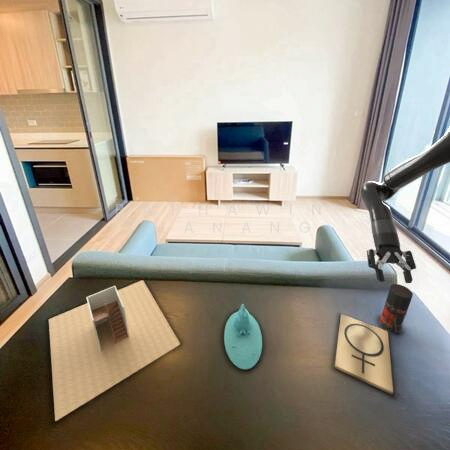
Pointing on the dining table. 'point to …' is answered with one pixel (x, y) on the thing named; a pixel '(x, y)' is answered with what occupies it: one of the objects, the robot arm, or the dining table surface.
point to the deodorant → (395, 308)
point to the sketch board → (364, 353)
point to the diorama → (243, 339)
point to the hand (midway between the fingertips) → (395, 282)
